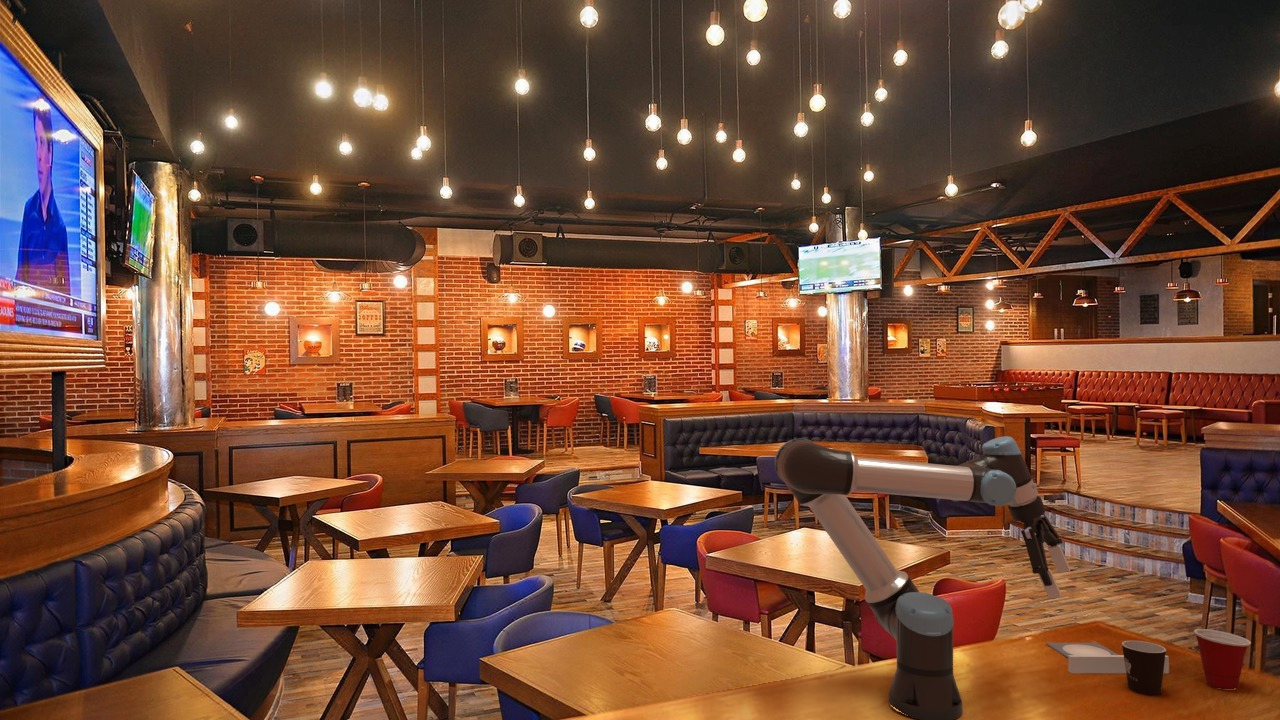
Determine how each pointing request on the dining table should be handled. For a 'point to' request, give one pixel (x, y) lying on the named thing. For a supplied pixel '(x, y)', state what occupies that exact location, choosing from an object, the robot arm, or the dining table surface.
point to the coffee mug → (1144, 666)
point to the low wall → (1101, 664)
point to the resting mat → (1080, 649)
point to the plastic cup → (1221, 657)
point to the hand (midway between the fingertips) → (1060, 584)
